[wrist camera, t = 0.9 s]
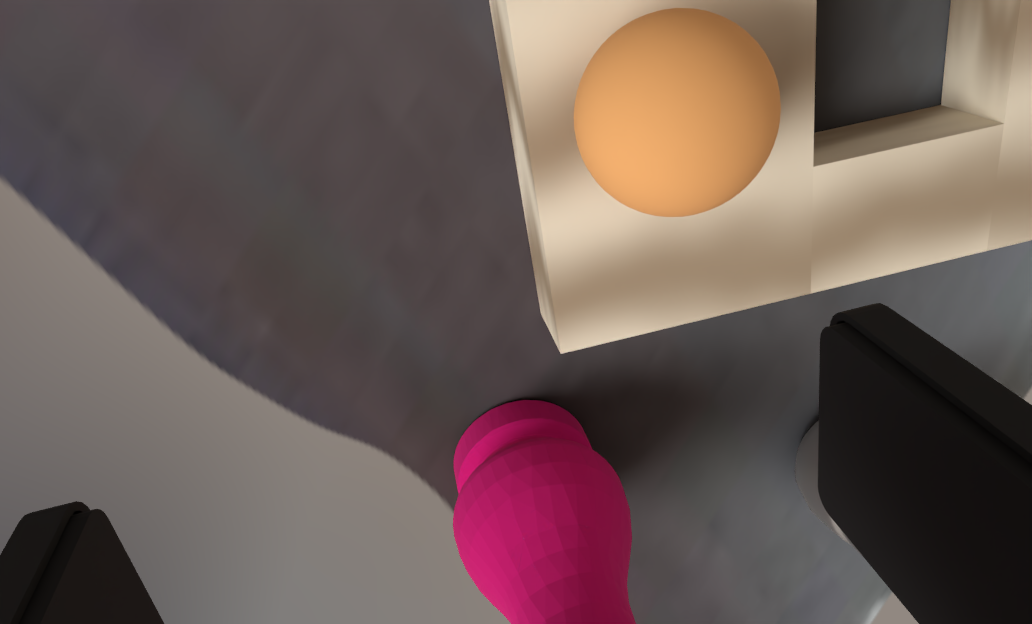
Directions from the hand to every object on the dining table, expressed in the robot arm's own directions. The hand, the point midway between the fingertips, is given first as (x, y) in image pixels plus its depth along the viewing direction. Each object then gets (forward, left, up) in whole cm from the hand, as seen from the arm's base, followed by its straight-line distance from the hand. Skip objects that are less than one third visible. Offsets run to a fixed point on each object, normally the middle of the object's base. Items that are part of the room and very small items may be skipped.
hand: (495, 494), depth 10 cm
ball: (0, +8, -14) cm, 16 cm away
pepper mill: (+16, +2, -21) cm, 26 cm away
